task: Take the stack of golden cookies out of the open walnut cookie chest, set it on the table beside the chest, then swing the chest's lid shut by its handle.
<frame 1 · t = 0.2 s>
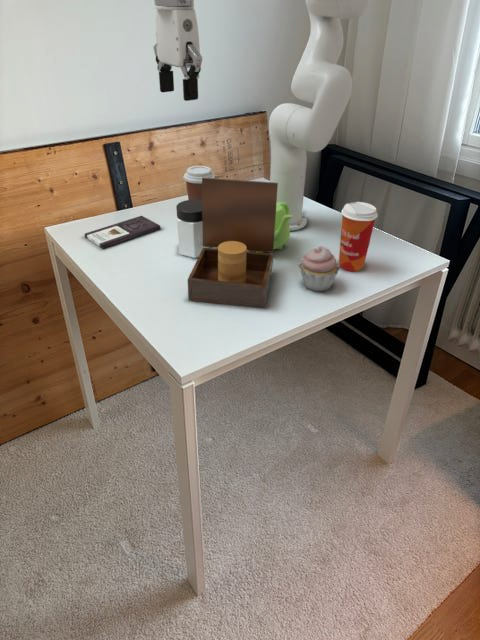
hand: (178, 95, 107), 37 cm above the table, tool pointing down, fingers open, 9 cm apart
cookie stack: (232, 283, 115), point 1 cm above the table, touching chest
jar: (194, 250, 130), on the table
cupcake: (316, 285, 116), on the table
chocolate bar: (123, 233, 137), on the table
lid: (240, 212, 116), point 13 cm above the table, hinge at 95.0°
teapot: (263, 247, 132), on the table
chest: (232, 286, 115), on the table
coffee cup 2: (200, 209, 151), on the table
coffee cup: (351, 266, 124), on the table
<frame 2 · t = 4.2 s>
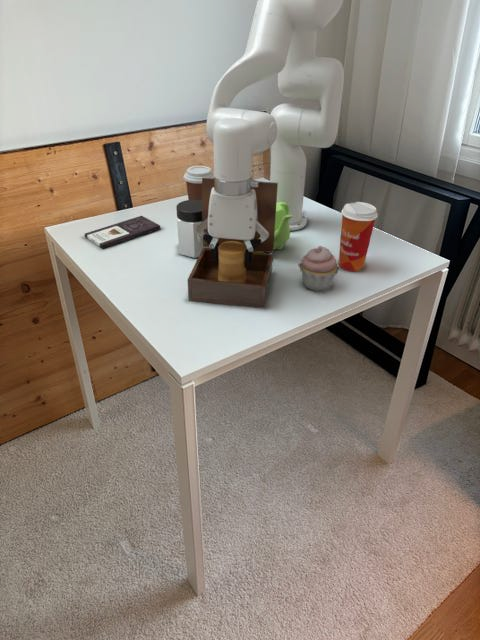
hand: (232, 263, 112), 6 cm above the table, tool pointing down, fingers closed on cookie stack, 6 cm apart
cookie stack: (232, 283, 115), point 1 cm above the table, touching chest, gripper
everything else where it was.
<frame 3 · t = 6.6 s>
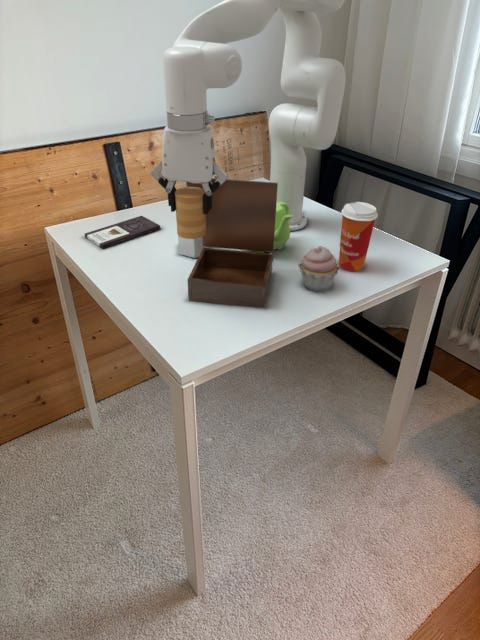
hand: (190, 209, 106), 18 cm above the table, tool pointing down, fingers closed on cookie stack, 6 cm apart
cookie stack: (191, 232, 109), point 13 cm above the table, touching gripper
everything else where it was.
when the fingers open (5 cm above the table, at t = 9.4 s): cookie stack stays where it is, on the table.
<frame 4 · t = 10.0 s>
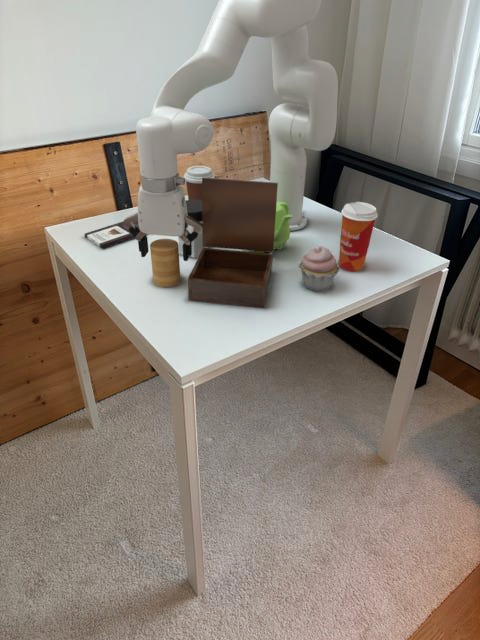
hand: (165, 256, 114), 6 cm above the table, tool pointing down, fingers open, 9 cm apart
cookie stack: (166, 280, 117), on the table
everything else where it was.
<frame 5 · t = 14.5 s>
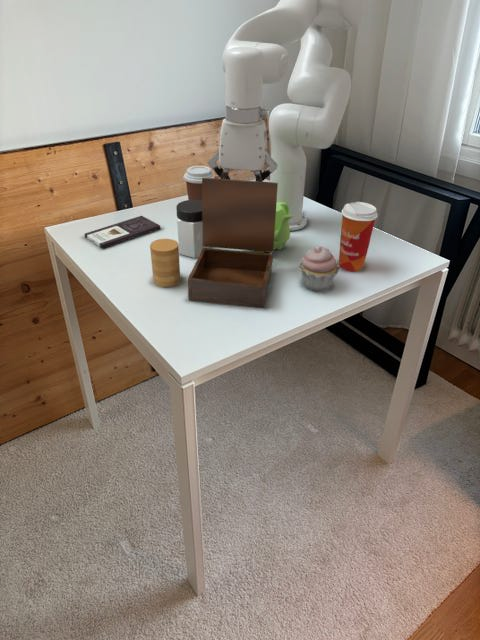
hand: (241, 196, 116), 17 cm above the table, tool pointing down, fingers closed on lid, 6 cm apart
lid: (240, 212, 116), point 13 cm above the table, hinge at 95.0°, touching gripper
everything else where it was.
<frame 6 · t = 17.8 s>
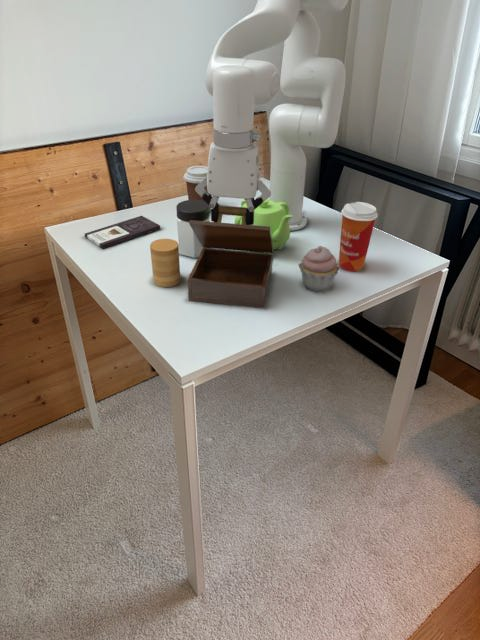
hand: (232, 225, 106), 15 cm above the table, tool pointing down, fingers closed on lid, 6 cm apart
lid: (235, 228, 110), point 13 cm above the table, hinge at 44.0°, touching gripper
everything else where it was.
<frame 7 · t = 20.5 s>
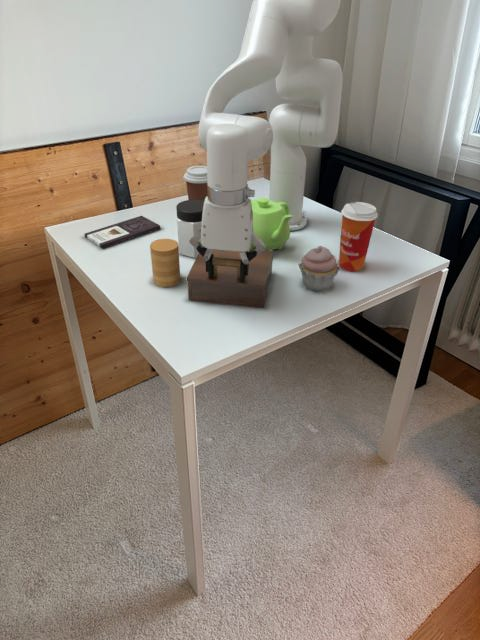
hand: (227, 275, 106), 6 cm above the table, tool pointing down, fingers closed on lid, 6 cm apart
lid: (231, 256, 110), point 8 cm above the table, hinge at -0.2°, touching chest, gripper
everything else where it was.
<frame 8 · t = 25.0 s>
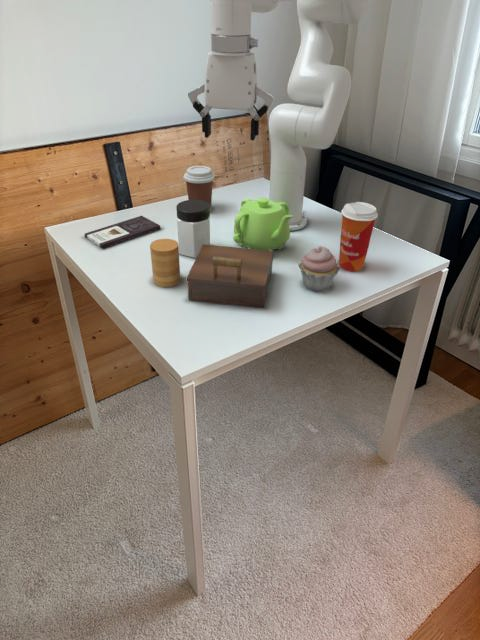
hand: (230, 137, 106), 30 cm above the table, tool pointing down, fingers open, 9 cm apart
lid: (231, 256, 110), point 8 cm above the table, hinge at -0.2°, touching chest
everything else where it was.
at the end: cookie stack 0.2 cm from the target spot, on the table; cookie stack tilted 0°; lid at +0° (first picture: +95°) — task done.
